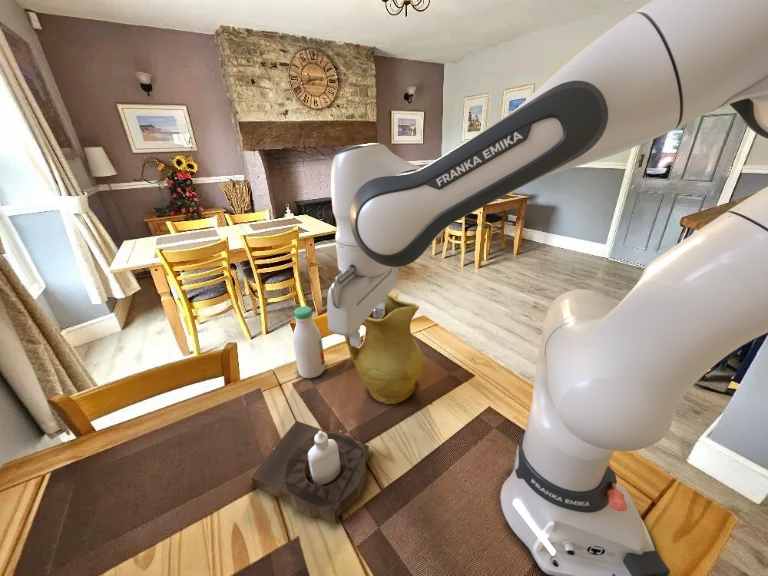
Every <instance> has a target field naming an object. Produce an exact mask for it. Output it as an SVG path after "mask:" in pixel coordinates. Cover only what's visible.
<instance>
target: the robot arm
mask: <svg viewBox="0 0 768 576" xmlns="http://www.w3.org/2000/svg"><path fill="white" fill-rule="evenodd" d="M728 105H729V106H730V107H731V108H732V109H733V110H734V111H735V112H736V113H737V114H738V115H739V116H740V118H741V120H742V121H743V123H744V124H745V125H746V126H747V127H748V128H749V130H751V131H753V132H754V133H755V134H756V135H758V136H760V137H762V138H764V139H767V140H768V0H651V1H649V2H648V3H646V4H644V5H643V6H642V7H640V8H638V9H637V10H635V11H634V12H633V13H631V14H630V15H628V16H627V17H625V18H623V19H622V20H620V21H619V22H617V23H616V24H615V25H613V26H612V27H611V28H609V29H608V30H606V31H605V32H603V33H602V34H601V35H600V36H598V37H597V38H596V39H595V40H593V41H592V42H591V43H589V44H588V45H587V46H585V47H584V48H583V49H582V50H581V51H579V52H578V53H577V54H576V55H574V56H573V57H572V58H571V59H570V60H568V61H567V62H566V63H565V64H564V65H563V66H562V67H561V68H560V69H558V70H557V71H556V72H555V73H554V74H553V75H552V76H551V77H549V79H548V80H546V82H544V83H543V84H542V85H541V86H539V88H538V89H536V91H534V92H533V93H532V94H531V95H530V96H528V98H527V99H525V100H524V101H523V102H522V103H521V104H519V105H518V106H517V107H516V108H515V109H513V110H512V111H511V112H510V113H509V114H507V115H506V116H505V117H503V118H502V119H500V120H498V121H497V122H496V123H494V124H492V125H491V126H489V127H488V128H486V129H484V130H483V131H480V132H479V133H478V134H476V135H474V136H472V137H471V138H470V139H468V140H467V141H464V142H463V143H462V144H460V145H458V146H457V147H455V148H454V149H451V150H450V151H448V152H447V153H445V154H443V155H442V156H439V158H437V159H436V160H434V161H432V162H430V163H429V164H427V165H425V166H424V167H422V166H418V165H417V164H415V163H411V162H409V161H408V160H405V159H403V158H401V157H399V156H398V155H397V154H395V153H393V152H392V151H391V150H390V149H389V148H388V147H387V145H385V144H383V143H381V142H370V143H366V144H357V145H353V146H349V147H346V148H344V149H341V150H340V151H338V152H337V153H336V154H335V156H334V157H333V160H332V164H331V170H330V192H331V193H330V195H331V207H332V208H331V209H332V213H333V216H334V219H335V223H336V231H335V237H334V238H335V239H334V240H335V249H336V260H337V261H336V262H337V269H338V270H339V273H338V274H336V276H335V277H334V282H333V283H332V284H331V285H330V287H329V289H328V292H327V299H326V300H327V302H326V308H327V309H326V311H327V313H326V314H327V315H326V316H327V328H328V330H329V331H330V332H331V333H332V334H334V335H339V336H343V337H345V336H349V338H350V344H351V345H352V346H355V347H357V348H360V347H361V345H362V344H363V342H364V334H363V333H361V332H360V330H361V327H362V325H363V324H362V323H363V322H364V321H365V320H366V319H367V318H368V316H369V315H370V314H371V313H372V312H373V317H374V318H375V319H382V318H383V316H384V315H385V305H386V301H387V295H390V293H391V292H392V290H394V289H395V287H396V285H397V282H398V273H399V271H398V270H399V267H400V268H401V267H406V266H408V265H410V264H413V263H414V262H416V261H417V260H418V259H419V258H420V257H421V256H423V254H424V253H425V252H426V250H427V249H428V248H429V247H430V245H431V244H432V243H433V242H434V241H435V240H436V239H437V238H438V237H439V236H440V235H442V234H443V232H444V231H445V230H447V228H448V227H449V226H451V225H452V224H454V223H456V222H457V221H460V220H461V219H463V218H464V217H466V216H468V215H471V214H472V213H474V212H476V211H478V210H480V209H482V208H483V207H486V206H488V205H489V204H491V203H493V202H495V201H498V200H499V199H501V198H503V197H504V196H507V195H508V194H511V193H512V192H514V191H516V190H518V189H520V188H522V187H524V186H526V185H528V184H530V183H532V182H535V181H536V180H539V179H542V178H545V177H548V176H550V175H553V174H556V173H560V172H563V171H566V170H570V169H573V168H576V167H580V166H583V165H586V164H590V163H593V162H596V161H599V160H603V159H605V158H606V159H607V158H609V157H612V156H615V155H617V154H621V153H624V152H626V151H629V150H631V149H633V148H636V147H638V146H640V145H643V144H645V143H648V142H650V141H653V140H655V139H657V138H659V137H661V136H663V135H666V134H668V133H670V132H672V131H674V130H676V129H678V128H680V127H683V126H684V125H687V124H689V123H690V122H693V121H694V120H696V119H698V118H700V117H702V116H704V115H706V114H708V113H710V112H713V111H716V110H718V109H720V108H722V107H726V106H728ZM541 331H542V332H541V337H540V342H539V347H538V354H537V362H536V367H535V375H534V381H533V388H532V397H531V402H530V403H531V404H530V409H529V413H528V417H527V421H526V426H525V430H524V433H523V434H522V435H521V437H520V439H519V443H518V445H517V448H516V452H515V457H514V467H513V470H512V472H511V473H510V475H509V476H508V477H507V478H506V479H505V481H504V482H503V484H502V486H501V489H500V497H499V498H500V506H501V510H502V513H503V516H504V517H505V521H506V522H507V524H508V525H509V527H510V529H511V530H512V531H513V532H514V534H515V535H516V536H517V537H518V538H519V539H520V540H521V542H522V543H524V545H525V546H526V547H527V548H528V549H529V551H530V553H531V555H532V556H533V559H534V560H535V562H536V564H537V565H538V567H539V568H540V569H541V571H542V572H544V573H545V574H547V575H549V576H669V575H670V574H671V569H669V567H668V566H667V565H666V563H665V562H664V560H663V559H662V557H661V556H660V555H659V553H658V552H657V551H656V550H655V549H656V548H655V546H654V543H653V540H652V538H651V535H650V532H649V530H648V528H647V527H646V524H645V523H644V520H643V519H642V517H641V514H640V511H639V510H638V507H637V505H636V503H635V500H634V499H633V497H632V496H631V493H629V492H628V490H627V489H626V488H625V487H624V486H623V485H622V484H621V483H619V482H618V479H617V475H616V473H615V471H614V470H613V468H612V466H611V462H610V461H611V459H612V456H613V454H614V452H633V451H634V452H635V451H639V450H643V449H646V448H649V447H651V446H653V445H655V444H657V443H658V442H660V441H661V440H662V439H663V438H664V437H665V436H667V434H668V432H669V431H670V430H671V426H672V423H673V420H674V416H675V413H676V411H677V409H678V407H679V404H680V403H681V402H682V400H683V398H684V397H685V396H686V395H687V392H689V391H690V390H691V389H692V387H693V386H694V385H695V384H696V383H697V382H698V381H699V380H700V379H701V378H702V377H703V376H705V375H706V374H707V372H709V371H710V369H712V368H713V367H714V366H716V365H717V364H718V363H719V362H721V361H722V360H724V358H726V357H728V355H730V354H731V353H733V352H734V351H736V350H737V349H739V348H741V347H742V346H744V345H746V344H748V343H749V342H751V341H753V340H755V339H757V338H760V337H761V336H763V335H766V334H767V333H768V186H766V187H764V188H762V189H761V190H759V191H757V192H756V193H754V194H753V195H751V196H749V197H747V198H745V199H744V200H742V201H741V202H740V203H738V204H736V205H734V206H732V207H731V208H730V209H728V210H727V211H726V212H724V213H722V214H720V215H719V216H718V217H716V218H714V219H713V220H711V221H710V222H709V223H707V224H706V225H704V226H703V227H701V228H699V229H698V230H696V231H695V232H693V233H692V234H691V235H689V236H687V237H686V238H684V239H683V240H681V241H680V242H678V243H677V244H675V245H674V246H672V247H671V248H669V249H668V250H666V251H665V252H663V253H662V254H660V255H659V256H657V257H656V258H654V259H652V260H651V261H650V262H649V263H648V264H647V265H646V266H645V268H644V269H643V272H642V274H641V275H640V277H639V279H638V281H637V283H636V284H634V286H633V287H632V289H630V291H629V292H628V293H627V294H626V295H625V296H624V297H623V298H622V299H621V300H620V302H618V303H616V302H615V301H613V300H612V299H611V298H609V297H608V296H606V295H605V294H603V293H601V292H599V291H596V290H592V289H586V288H585V289H584V288H580V289H573V290H569V291H566V292H564V293H562V294H560V295H559V296H557V297H556V298H555V299H554V300H553V301H552V302H551V304H550V305H549V307H548V309H547V311H546V314H545V317H544V320H543V326H542V330H541ZM556 565H557V566H556Z"/></svg>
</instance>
